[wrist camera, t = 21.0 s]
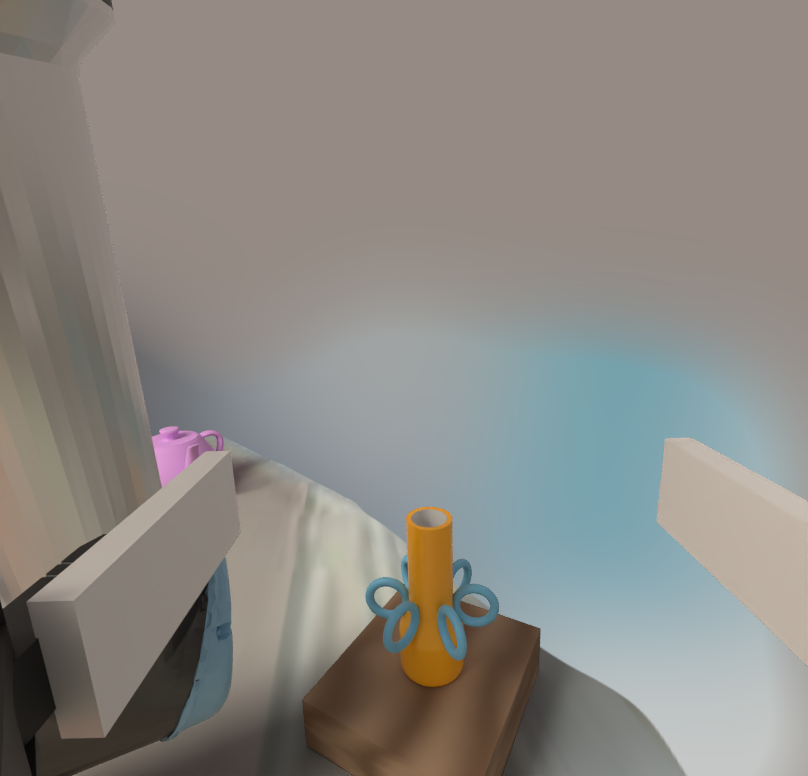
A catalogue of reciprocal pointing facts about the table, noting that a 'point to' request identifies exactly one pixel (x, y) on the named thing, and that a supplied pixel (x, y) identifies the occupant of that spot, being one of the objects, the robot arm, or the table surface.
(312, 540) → the table surface
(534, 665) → the walnut block
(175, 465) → the teapot
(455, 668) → the orange blue tall piece
